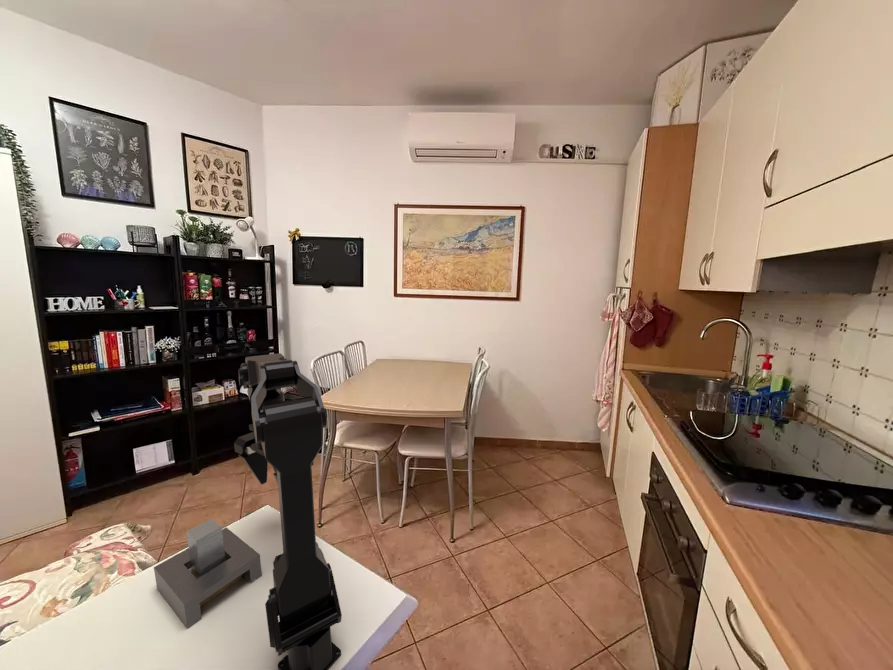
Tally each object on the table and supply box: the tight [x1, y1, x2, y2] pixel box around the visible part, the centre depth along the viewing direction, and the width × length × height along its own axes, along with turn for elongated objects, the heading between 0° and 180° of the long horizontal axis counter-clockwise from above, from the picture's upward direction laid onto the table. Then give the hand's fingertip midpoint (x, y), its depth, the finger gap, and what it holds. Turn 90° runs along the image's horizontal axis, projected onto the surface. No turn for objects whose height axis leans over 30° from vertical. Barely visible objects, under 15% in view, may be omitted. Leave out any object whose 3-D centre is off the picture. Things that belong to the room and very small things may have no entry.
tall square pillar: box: [186, 518, 225, 579], centre depth 62 cm, size 4×4×11 cm
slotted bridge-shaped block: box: [153, 527, 263, 629], centre depth 63 cm, size 13×12×4 cm
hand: (276, 490), depth 69 cm, fingers open, 9 cm apart
